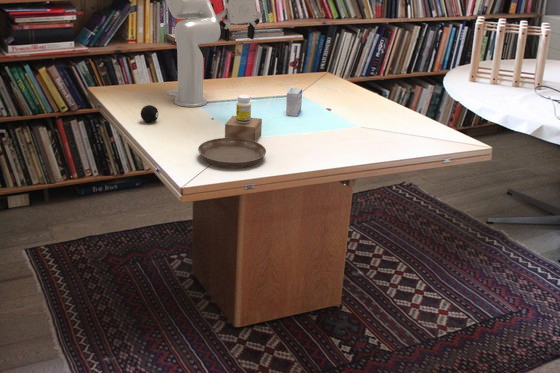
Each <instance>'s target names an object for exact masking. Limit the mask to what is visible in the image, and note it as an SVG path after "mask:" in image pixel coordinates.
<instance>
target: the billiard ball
mask: <svg viewBox="0 0 560 373" xmlns="http://www.w3.org/2000/svg"><path fill="white" fill-rule="evenodd" d="M140 117H141V119H142V121H143V122H145V123H147V124H150V123H151V124H152V123H154V122H156V121H157V120H158V119H159V109H158V108H157V107H156V106H154V105H151V104H148V105H144V106H143V107H142V108H141V110H140Z"/></svg>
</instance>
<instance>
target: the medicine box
mask: <svg viewBox="0 0 560 373" xmlns="http://www.w3.org/2000/svg"><path fill="white" fill-rule="evenodd" d="M302 98H303V88H297V87H291V88H290V89H289V90H288V91H287V93H286V105H285V106H286V107H285V108H286V110H285V111H286V112H285V115H286V116H288V115H290V116H291V117H298V116H299V114H300V113H301V112H302V102H303V100H302Z"/></svg>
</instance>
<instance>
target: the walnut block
mask: <svg viewBox="0 0 560 373" xmlns="http://www.w3.org/2000/svg"><path fill="white" fill-rule="evenodd" d="M262 124H263V118H258V117H251V121H250V122H249V123H239V122H237V121H236V115H232V116H231V117H230V118H229V119H228V120H227V121H226V123H225V124H224V138H240V139H246V140H250V141H254V142H257V143H258V141H259V140H260V138H261V137H262V127H263V126H262Z"/></svg>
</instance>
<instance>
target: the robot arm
mask: <svg viewBox="0 0 560 373" xmlns="http://www.w3.org/2000/svg"><path fill="white" fill-rule="evenodd" d="M164 1H165V3H166V5H167V6H166V7H167V8H168V10H169V12H170V14H171V16H172V17H173V18H175V19H178V20H179V21H178V22H177V23H176V24H175V27H174V37H175V42H176V50H177V52H176V53H177V89H176V90H173V89H167V95H168V96H169V97H174V99H173V103H174V105H177V106H179V107H184V108H185V107H186V108H187V107H188V108H197V107H202V106H205V105H206V104H208V98H206V97H204V55H203V53H202V51H201V49H200V47H199V45H205V44H211V43H216V42H217V41H218V40H219V39H220V37H222V40H223V41H226V42H229V41H230V29H229V27H230V26H231V24H233V25H234V24H235V25H237V24H248V26H247V34H246V36H247V38H248V39H250V40H254V38H255V32H256V30H255V29H256V28H257V27H258V26H257V25H258V24H259V23H260V21H261V18H262V16H263V13H262V12H260V11H258V10H256V0H224V1H225V2H224V10H222V11H220V12H218V13H217V14H216V13H215V10H214V7H213V6H212V2H211V0H164ZM181 19H182V20H181ZM223 20H224V21H223ZM221 29H222V30H221Z"/></svg>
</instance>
